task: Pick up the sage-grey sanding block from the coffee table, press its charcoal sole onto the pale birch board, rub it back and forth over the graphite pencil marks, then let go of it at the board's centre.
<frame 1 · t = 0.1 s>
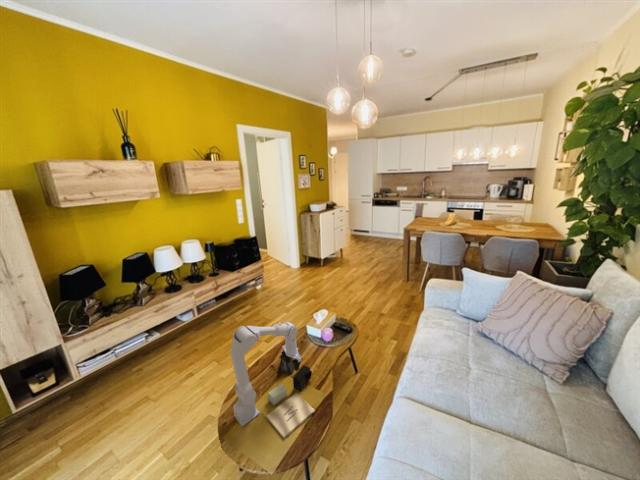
hand: (292, 366, 139), 10 cm above the table, tool pointing down, fingers open, 7 cm apart
phone stand: (286, 369, 151), on the table
digital camera: (303, 384, 140), on the table
sanding block: (278, 398, 132), on the table
birch board: (290, 414, 122), on the table
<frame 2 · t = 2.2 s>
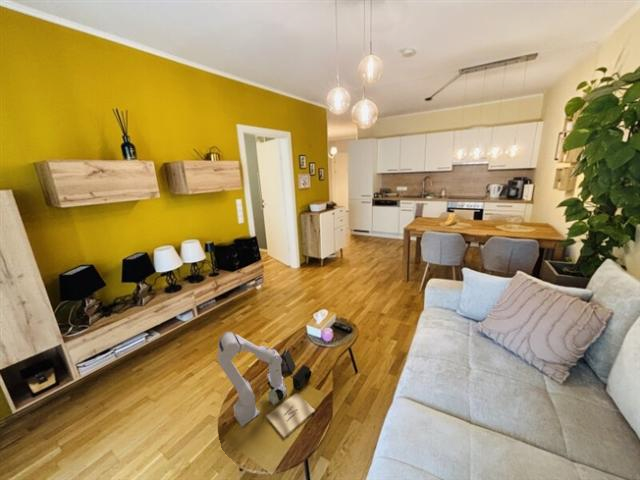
hand: (277, 396, 131), 1 cm above the table, tool pointing down, fingers closed on sanding block, 4 cm apart
sanding block: (278, 398, 132), on the table, touching gripper
everything else where it was.
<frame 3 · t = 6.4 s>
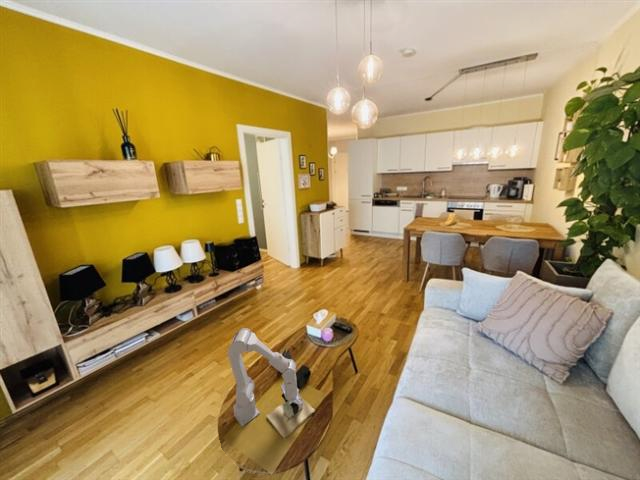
hand: (292, 409, 123), 2 cm above the table, tool pointing down, fingers closed on sanding block, 4 cm apart
sanding block: (293, 410, 123), point 1 cm above the table, touching gripper
everything else where it was.
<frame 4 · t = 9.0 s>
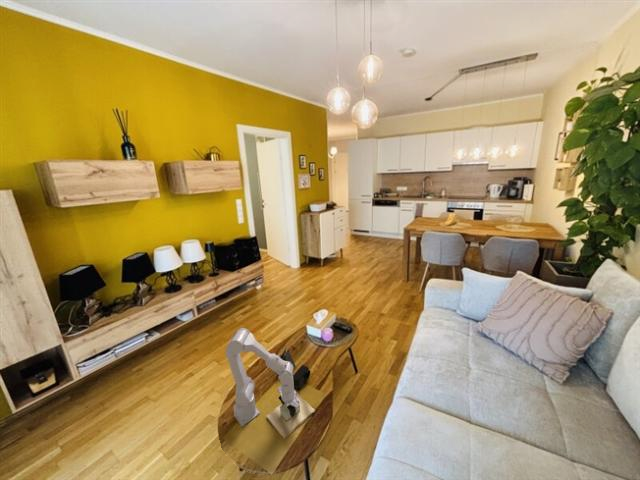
hand: (289, 411, 121), 2 cm above the table, tool pointing down, fingers closed on sanding block, 4 cm apart
sanding block: (290, 412, 122), point 1 cm above the table, touching gripper
everything else where it was.
when the fingers open (2 cm above the table, at t = 11.0 s): sanding block stays where it is, resting on birch board.
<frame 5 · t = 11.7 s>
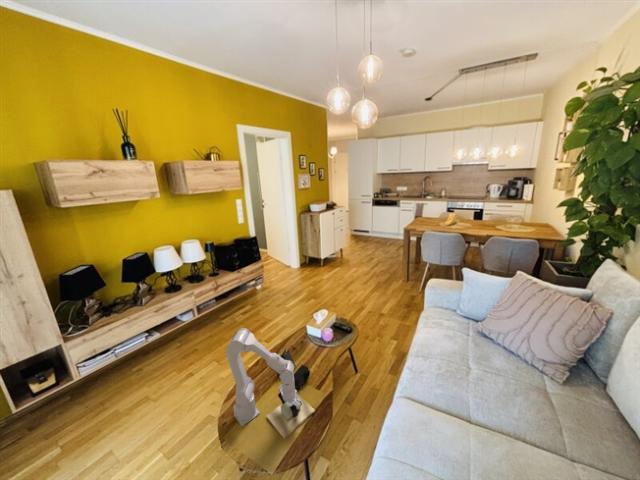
hand: (290, 410, 122), 2 cm above the table, tool pointing down, fingers open, 7 cm apart
sanding block: (291, 412, 122), point 1 cm above the table, touching birch board
everything else where it was.
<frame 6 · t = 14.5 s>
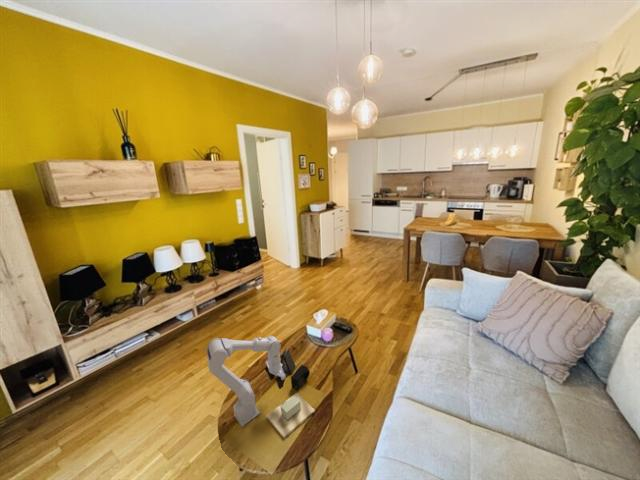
hand: (276, 383, 129), 9 cm above the table, tool pointing down, fingers open, 7 cm apart
at the end: sanding block inside the target area on the birch board (0.3 cm from its centre), point 1.3 cm above the birch board's base; sanding block tilted 0°; the gripper is holding nothing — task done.
